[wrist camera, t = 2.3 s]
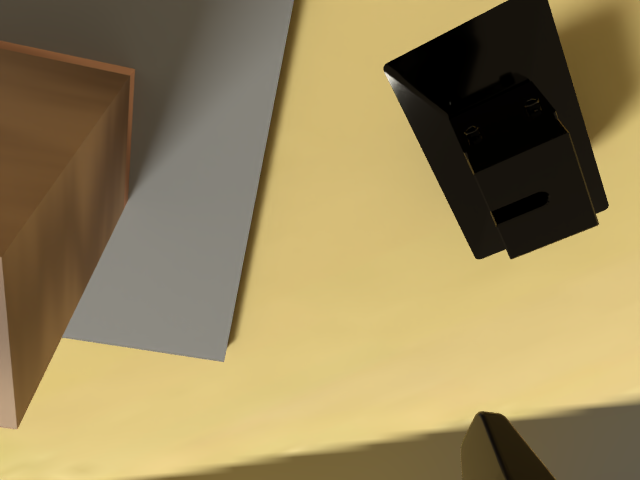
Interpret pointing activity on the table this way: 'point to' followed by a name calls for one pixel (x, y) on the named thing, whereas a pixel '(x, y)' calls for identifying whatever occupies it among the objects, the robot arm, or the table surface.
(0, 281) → the walnut post
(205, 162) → the slate mat
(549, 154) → the black mounting bracket
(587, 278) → the table surface
